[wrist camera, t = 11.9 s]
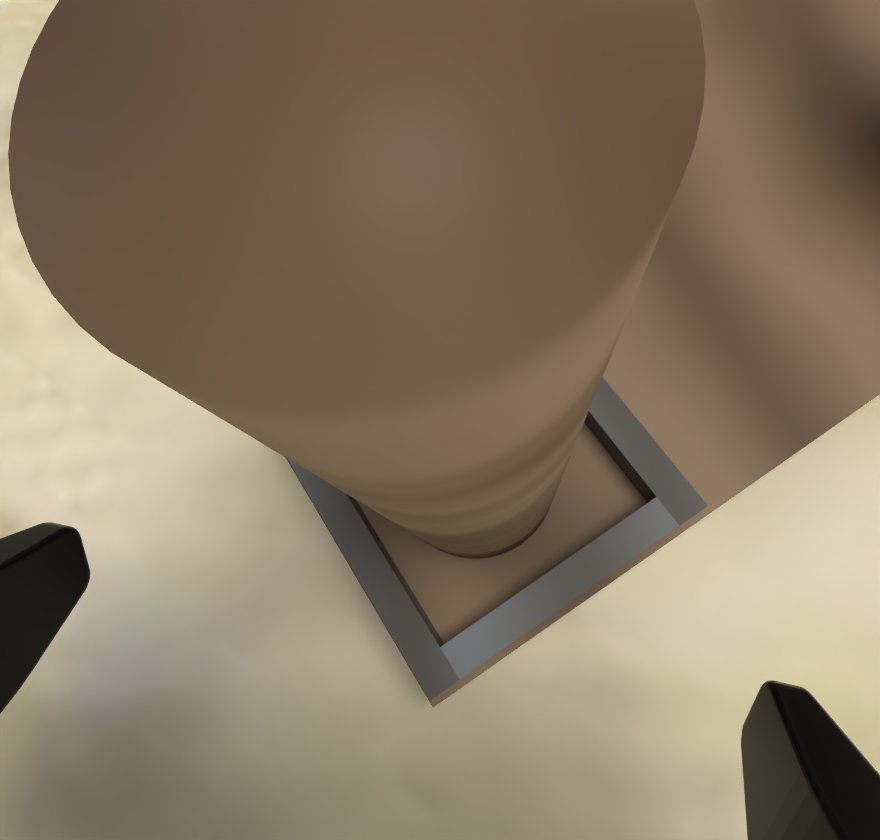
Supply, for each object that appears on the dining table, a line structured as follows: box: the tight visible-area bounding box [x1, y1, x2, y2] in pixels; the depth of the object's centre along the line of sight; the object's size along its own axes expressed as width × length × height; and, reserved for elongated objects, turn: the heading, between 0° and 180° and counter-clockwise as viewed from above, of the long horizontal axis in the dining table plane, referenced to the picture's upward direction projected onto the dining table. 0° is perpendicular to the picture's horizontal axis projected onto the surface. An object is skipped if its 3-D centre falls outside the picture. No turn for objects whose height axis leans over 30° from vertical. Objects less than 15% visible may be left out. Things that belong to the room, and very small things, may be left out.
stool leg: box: [8, 0, 706, 559], centre depth 10 cm, size 4×4×13 cm
